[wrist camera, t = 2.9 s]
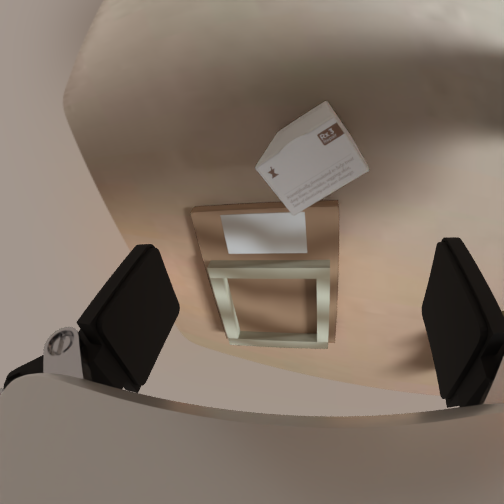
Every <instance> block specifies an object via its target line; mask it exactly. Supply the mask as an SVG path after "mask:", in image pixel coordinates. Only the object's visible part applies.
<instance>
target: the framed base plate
mask: <svg viewBox="0 0 504 504" xmlns="http://www.w3.org/2000/svg"><path fill="white" fill-rule="evenodd" d="M190 214H191V218H192V222H193V225H194V229H195V233H196V236H197V240H198V244H199V247H200V251H201V254H202V258H203V261H204V265H205V268H206V272H207V275H208V279H209V282H210V286H211V289H212V292H213V296H214V299H215V302H216V306H217V309H218V312H219V315H220V319H221V322H222V325H223V328H224V331H225V335H226V338H227V339H228V340H229V343H230V345H244V346H259V347H279V348H311V349H328V343H335V335H336V319H337V300H338V272H339V204H338V200H329V201H318V202H316V203H314V204H313V205H311V206H309V207H308V208H306V209H304V210H303V211H301V212H299V213H298V214H296V215H292V214H291V213H290V211H289V210H288V209H287V208H286V206H285V205H284V204H283V203H282V202H268V203H247V204H229V205H213V206H198V207H194V208H193V210H192V211H191V212H190Z"/></svg>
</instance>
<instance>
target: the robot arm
mask: <svg viewBox="0 0 504 504" xmlns="http://www.w3.org/2000/svg"><path fill="white" fill-rule="evenodd" d="M179 310H180V306H179V302H178V300H177V297H176V295H175V292H174V290H173V287H172V284H171V282H170V279H169V276H168V274H167V271H166V268H165V266H164V263H163V260H162V257H161V255H160V252H159V250H158V249H157V248H155V247H154V245H152V244H141V245H136V246H135V247H134V249H133V250H132V251H131V252H130V253H129V255H128V256H127V257H126V258H125V260H124V261H123V262H122V263H121V264H120V266H119V267H118V268H117V269H116V271H115V272H114V274H113V275H112V276H111V277H110V278H109V280H108V281H107V282H106V283H105V285H104V286H103V287H102V289H101V290H100V291H99V293H98V294H97V295H96V297H95V298H94V300H92V302H91V303H90V305H89V306H88V307H87V309H86V310H85V311H84V313H83V314H82V315H81V317H80V318H79V320H78V321H77V324H78V325H79V327H80V331H79V332H78V331H77V330H76V329H75V328H72V327H65V328H61V329H59V330H57V331H55V332H54V333H53V334H52V335H51V336H50V337H49V338H48V340H47V341H46V343H45V346H44V355H42V356H40V357H39V358H36V359H35V360H33V361H30V362H28V363H27V364H24V365H22V366H21V367H18V368H17V369H15V370H13V371H11V372H10V373H9V374H8V376H7V378H6V381H5V383H4V390H3V389H2V388H1V389H0V504H504V316H503V314H502V312H501V310H500V308H499V305H498V303H497V301H496V299H495V298H494V296H493V294H492V292H491V290H490V288H489V286H488V284H487V282H486V280H485V279H484V277H483V275H482V273H481V271H480V270H479V268H478V266H477V265H476V263H475V261H474V259H473V258H472V256H471V254H470V253H469V251H468V250H467V248H466V246H465V245H464V243H463V242H462V240H461V239H460V238H443V239H442V241H441V242H438V243H437V246H436V251H435V255H434V260H433V265H432V269H431V273H430V278H429V282H428V286H427V289H426V293H425V297H424V301H423V304H422V316H423V320H424V324H425V327H426V331H427V335H428V339H429V343H430V347H431V351H432V356H433V360H434V365H435V369H436V374H437V379H438V384H439V389H440V395H441V397H442V399H446V405H447V408H448V407H454V406H460V407H458V408H452V409H444V410H436V411H427V412H418V413H407V414H406V413H405V414H393V415H378V416H349V417H323V416H320V417H319V416H292V415H276V414H263V413H252V412H243V411H234V410H226V409H219V408H212V407H205V406H199V405H193V404H187V403H181V402H176V401H170V400H166V399H160V398H156V397H151V396H147V395H142V394H138V391H139V389H140V387H141V385H144V384H145V383H146V381H147V379H148V377H149V375H150V372H151V370H152V368H153V366H154V364H155V362H156V360H157V358H158V355H159V353H160V351H161V349H162V347H163V345H164V343H165V341H166V339H167V337H168V335H169V333H170V331H171V328H172V326H173V324H174V322H175V320H176V318H177V316H178V314H179ZM123 387H124V388H125V389H126V390H128V391H126V390H122V388H123ZM130 391H132V392H130ZM134 392H136V393H134Z"/></svg>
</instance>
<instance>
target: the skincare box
mask: <svg viewBox="0 0 504 504" xmlns="http://www.w3.org/2000/svg"><path fill="white" fill-rule="evenodd" d="M255 169H256V170H257V171H258V173H259V174H260V175H261V176H262V178H263V179H264V180H265V181H266V183H267V184H268V185H269V186H270V188H271V189H272V190H273V191H274V193H275V194H276V195H277V196H278V198H279V199H280V200H281V201H282V203H283V204H284V205H285V206H286V208H287V209H288V210H289V211H290V213H291V214H292V215H296V214H298V213H299V212H301V211H303V210H304V209H306V208H308V207H309V206H311V205H313V204H314V203H316V202H318V201H319V200H321V199H323V198H324V197H326V196H328V195H329V194H331V193H333V192H334V191H336V190H337V189H339V188H341V187H342V186H344V185H346V184H347V183H349V182H351V181H353V180H354V179H356V178H358V177H359V176H361V175H362V174H364V173H366V172H368V171H369V167H368V165H367V163H366V161H365V159H364V158H363V156H362V154H361V153H360V151H359V149H358V147H357V145H356V144H355V142H354V140H353V138H352V137H351V135H350V134H349V132H348V131H347V129H346V128H345V126H344V125H343V123H342V122H341V120H340V119H339V117H338V116H337V114H336V113H335V112H334V110H333V109H332V107H331V106H330V104H329V103H328V101H324V102H323V103H321V104H320V105H318V106H316V107H315V108H313V109H312V110H310V111H308V112H307V113H305V114H304V115H302V116H301V117H299V118H298V119H296V120H295V121H293V122H292V123H290V124H289V125H287V126H286V127H284V128H283V129H281V130H280V131H278V132H277V134H276V135H275V137H274V138H273V140H272V141H271V143H270V144H269V146H268V148H267V149H266V151H265V152H264V154H263V155H262V156H261V158H260V160H259V161H258V163H257V164H256V166H255Z"/></svg>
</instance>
